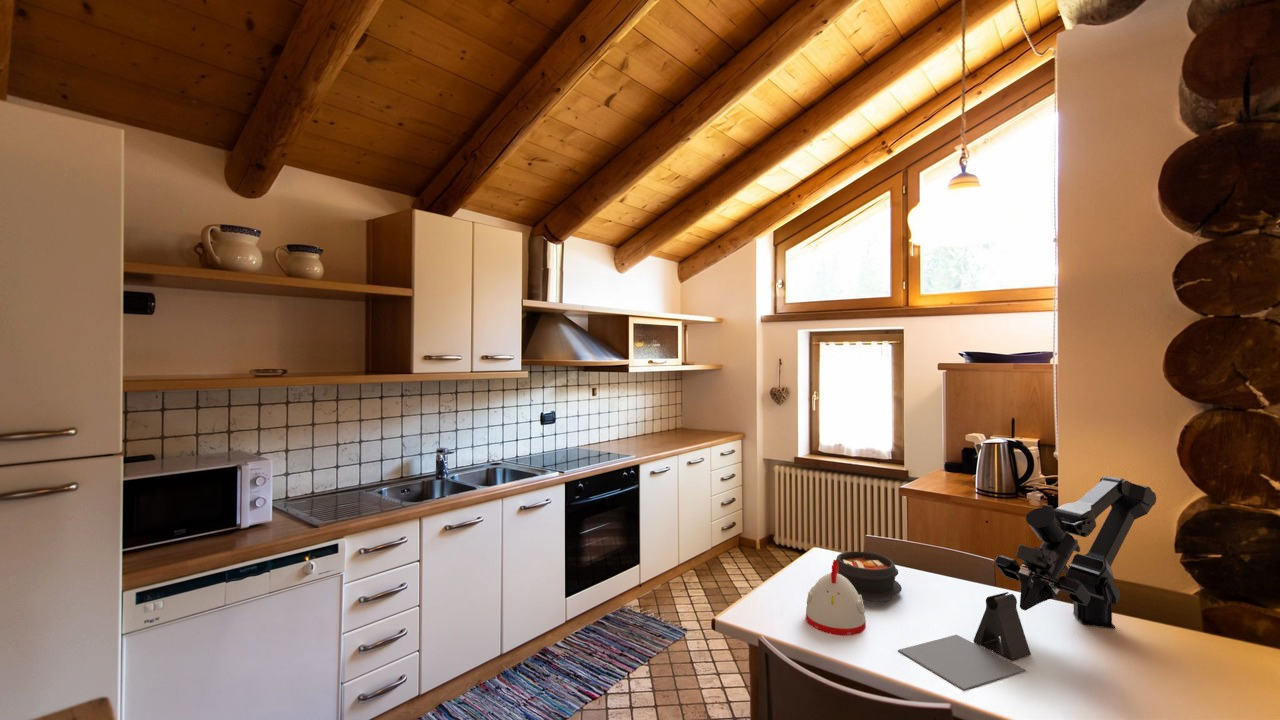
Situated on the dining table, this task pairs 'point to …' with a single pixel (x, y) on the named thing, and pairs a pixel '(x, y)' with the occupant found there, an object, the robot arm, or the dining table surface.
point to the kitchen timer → (835, 605)
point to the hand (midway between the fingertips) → (1022, 608)
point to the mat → (961, 661)
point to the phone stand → (1002, 628)
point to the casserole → (870, 575)
